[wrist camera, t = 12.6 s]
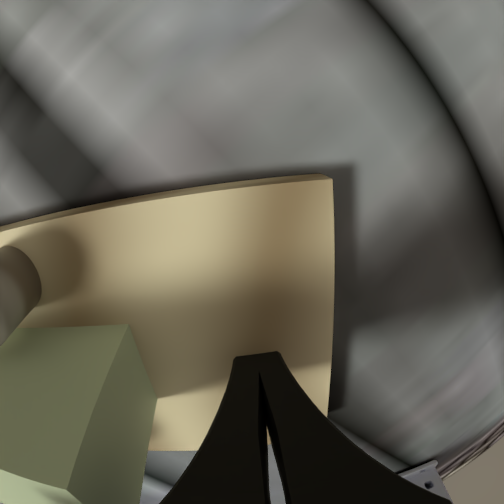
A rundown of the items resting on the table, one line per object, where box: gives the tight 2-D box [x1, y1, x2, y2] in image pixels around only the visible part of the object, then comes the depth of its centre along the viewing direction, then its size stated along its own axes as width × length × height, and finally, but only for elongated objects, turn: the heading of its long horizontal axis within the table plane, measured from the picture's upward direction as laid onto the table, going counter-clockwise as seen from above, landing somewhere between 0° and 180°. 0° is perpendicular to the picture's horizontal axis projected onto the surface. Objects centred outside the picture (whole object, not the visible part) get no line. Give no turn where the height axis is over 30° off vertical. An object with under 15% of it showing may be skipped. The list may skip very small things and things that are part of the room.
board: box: [0, 173, 335, 451], centre depth 9 cm, size 16×11×4 cm
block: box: [0, 324, 157, 504], centre depth 7 cm, size 8×4×6 cm, turn 96°
